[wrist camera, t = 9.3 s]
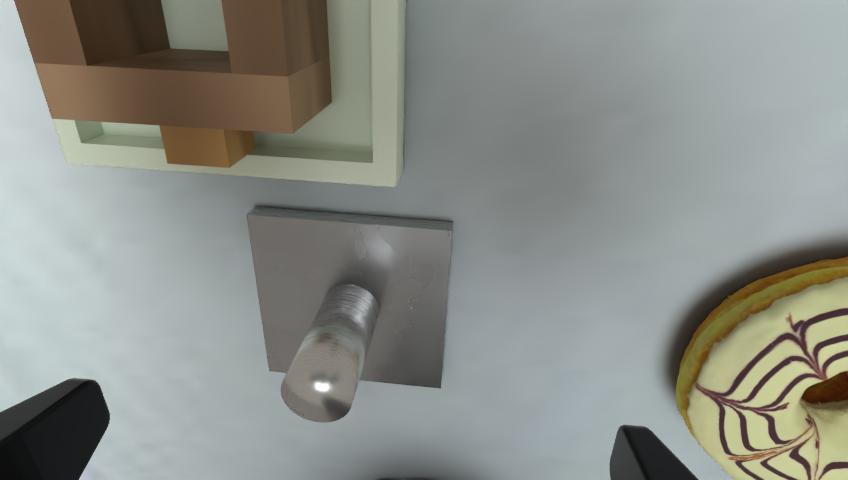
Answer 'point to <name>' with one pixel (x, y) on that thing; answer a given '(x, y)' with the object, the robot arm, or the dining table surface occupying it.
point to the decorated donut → (773, 377)
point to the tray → (316, 140)
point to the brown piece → (183, 71)
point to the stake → (349, 302)
